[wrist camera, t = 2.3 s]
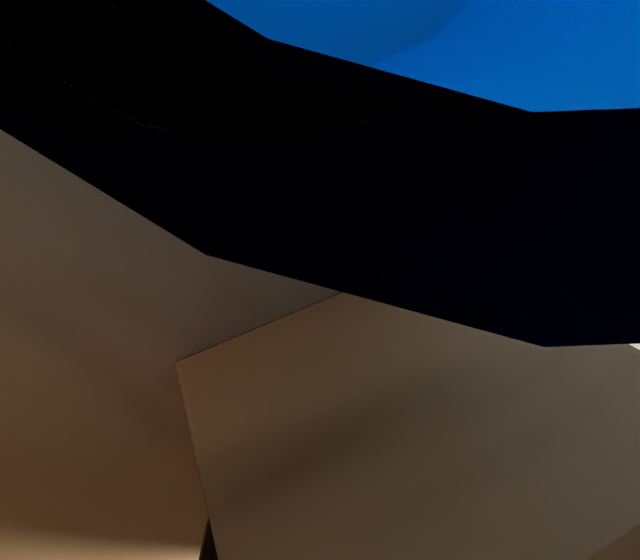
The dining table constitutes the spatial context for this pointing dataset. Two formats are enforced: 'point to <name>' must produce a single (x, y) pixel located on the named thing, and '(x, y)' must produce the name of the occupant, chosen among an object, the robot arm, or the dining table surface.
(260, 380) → the walnut block
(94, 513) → the dining table surface
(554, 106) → the mug
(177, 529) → the dining table surface
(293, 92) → the dining table surface
